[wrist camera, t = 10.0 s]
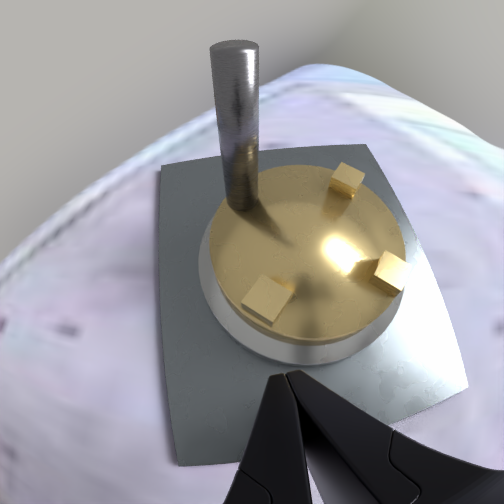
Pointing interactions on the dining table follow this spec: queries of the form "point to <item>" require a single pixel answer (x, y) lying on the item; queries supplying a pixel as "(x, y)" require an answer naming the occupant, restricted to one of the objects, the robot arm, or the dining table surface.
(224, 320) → the gray metal base plate
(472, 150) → the dining table surface
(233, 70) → the brass chuck with rod
